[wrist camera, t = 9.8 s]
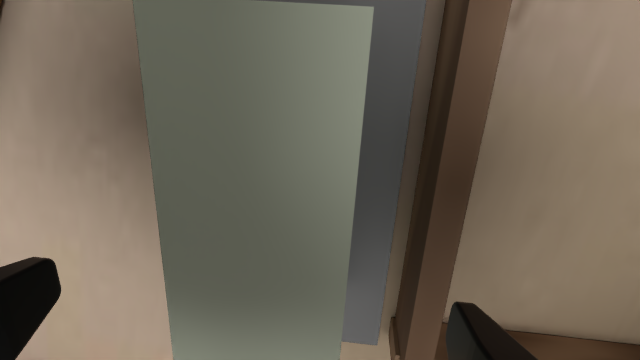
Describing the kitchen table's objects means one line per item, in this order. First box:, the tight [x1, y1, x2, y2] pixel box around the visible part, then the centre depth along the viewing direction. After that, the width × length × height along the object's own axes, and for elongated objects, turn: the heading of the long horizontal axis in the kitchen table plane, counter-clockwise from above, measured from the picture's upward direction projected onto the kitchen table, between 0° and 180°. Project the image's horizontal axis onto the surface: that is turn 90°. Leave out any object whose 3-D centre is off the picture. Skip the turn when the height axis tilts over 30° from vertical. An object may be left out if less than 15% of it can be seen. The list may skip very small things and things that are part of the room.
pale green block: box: [133, 0, 374, 360], centre depth 12 cm, size 4×12×9 cm, turn 177°
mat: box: [256, 0, 426, 345], centre depth 17 cm, size 8×19×1 cm, turn 177°
